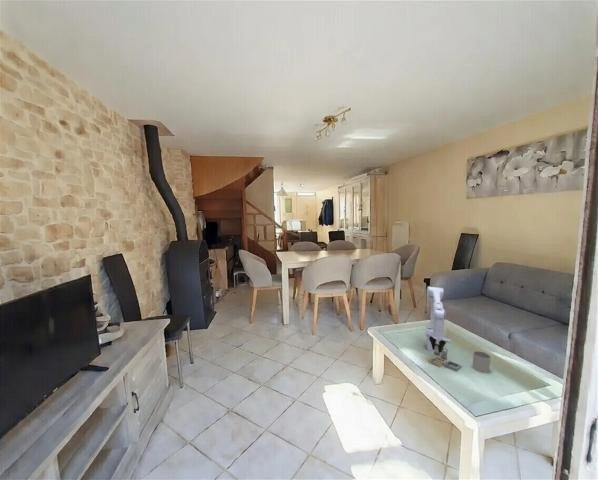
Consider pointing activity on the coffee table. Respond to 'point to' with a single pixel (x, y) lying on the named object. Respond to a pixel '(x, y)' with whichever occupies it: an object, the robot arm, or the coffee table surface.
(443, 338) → the robot arm
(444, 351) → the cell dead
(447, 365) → the cradle
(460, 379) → the coffee table surface
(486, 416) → the coffee table surface
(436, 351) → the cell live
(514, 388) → the coffee table surface
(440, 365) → the tray
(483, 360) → the cup
